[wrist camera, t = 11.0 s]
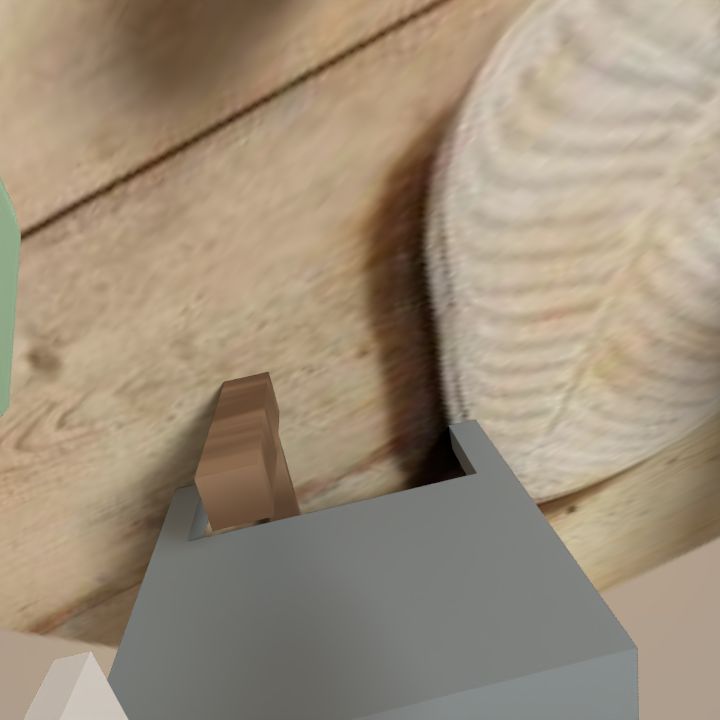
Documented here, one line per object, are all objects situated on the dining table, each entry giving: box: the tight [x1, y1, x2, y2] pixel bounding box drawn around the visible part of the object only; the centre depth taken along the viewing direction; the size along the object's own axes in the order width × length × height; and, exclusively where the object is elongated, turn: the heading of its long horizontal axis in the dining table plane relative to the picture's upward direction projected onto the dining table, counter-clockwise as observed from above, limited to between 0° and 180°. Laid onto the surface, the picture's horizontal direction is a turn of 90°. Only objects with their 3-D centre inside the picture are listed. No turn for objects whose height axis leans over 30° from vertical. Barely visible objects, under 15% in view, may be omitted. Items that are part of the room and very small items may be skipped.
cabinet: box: [107, 420, 639, 720], centre depth 32 cm, size 22×11×20 cm, turn 101°
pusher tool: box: [194, 372, 301, 531], centre depth 34 cm, size 18×6×12 cm, turn 11°
